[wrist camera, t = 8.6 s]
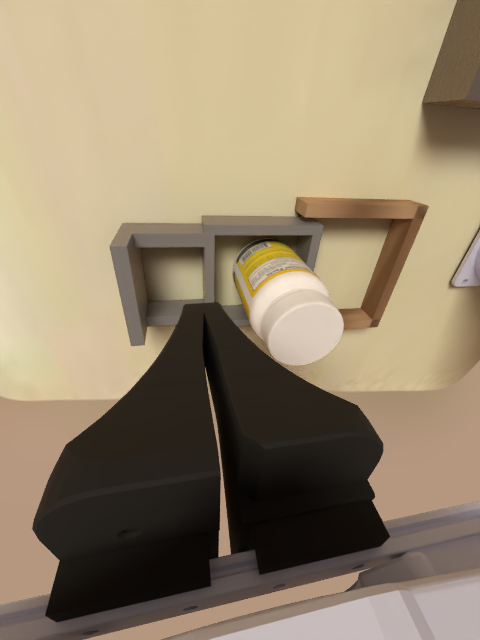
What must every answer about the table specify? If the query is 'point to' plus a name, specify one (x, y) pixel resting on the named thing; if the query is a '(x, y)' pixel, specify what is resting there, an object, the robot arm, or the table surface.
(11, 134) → the table surface
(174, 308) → the gray divided frame
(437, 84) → the plunger housing
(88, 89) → the table surface
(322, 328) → the supplement bottle
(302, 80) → the table surface
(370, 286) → the housing
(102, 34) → the table surface
